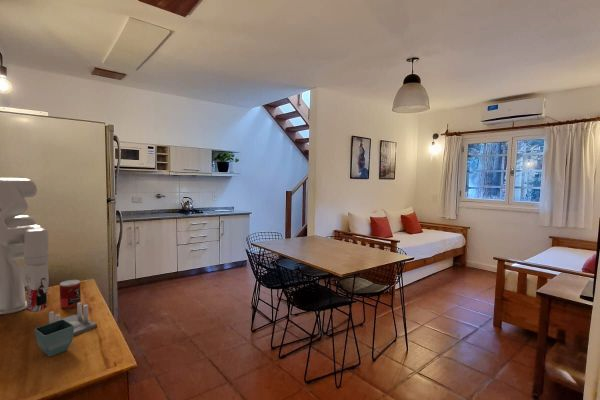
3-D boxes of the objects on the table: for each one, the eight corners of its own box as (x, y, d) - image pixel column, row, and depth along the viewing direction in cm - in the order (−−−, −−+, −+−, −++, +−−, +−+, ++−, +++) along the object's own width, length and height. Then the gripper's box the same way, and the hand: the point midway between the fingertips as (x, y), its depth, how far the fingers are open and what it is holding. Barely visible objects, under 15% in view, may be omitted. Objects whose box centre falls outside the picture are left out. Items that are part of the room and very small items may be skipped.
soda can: (39, 304, 132) (39, 277, 131) (50, 307, 131) (50, 279, 129) (22, 311, 126) (22, 282, 125) (34, 314, 125) (34, 285, 123)
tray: (38, 330, 124) (37, 309, 123) (74, 317, 135) (74, 298, 135) (60, 341, 116) (59, 319, 116) (97, 326, 128) (96, 306, 127)
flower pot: (45, 362, 104) (44, 336, 103) (34, 353, 108) (33, 328, 108) (75, 350, 111) (74, 325, 110) (64, 342, 116) (63, 318, 115)
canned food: (70, 309, 142) (69, 286, 141) (55, 307, 144) (54, 284, 143) (85, 303, 149) (84, 280, 149) (71, 301, 151) (70, 278, 150)
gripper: (14, 257, 127) (15, 300, 129) (36, 266, 119) (36, 311, 121) (36, 253, 133) (37, 293, 135) (58, 261, 126) (59, 304, 128)
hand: (37, 302), depth 128 cm, fingers closed on soda can, 6 cm apart
